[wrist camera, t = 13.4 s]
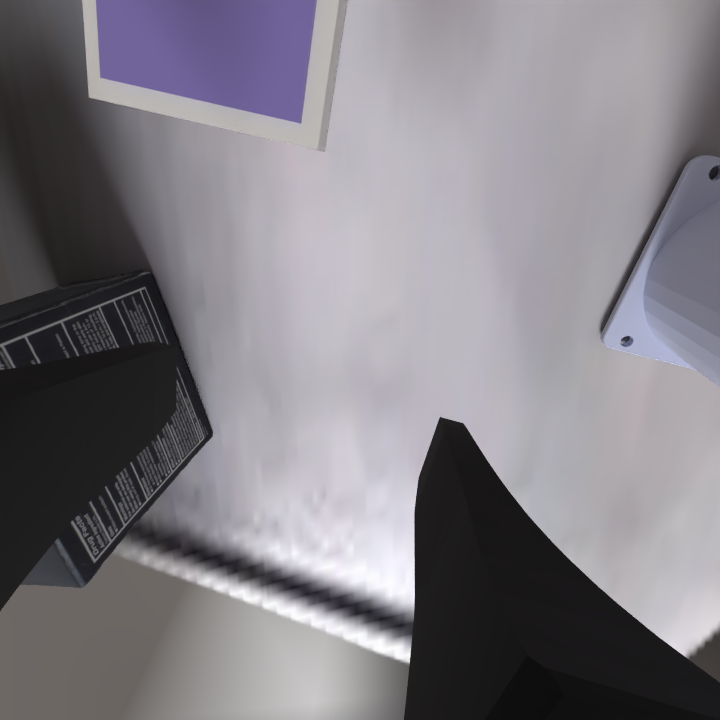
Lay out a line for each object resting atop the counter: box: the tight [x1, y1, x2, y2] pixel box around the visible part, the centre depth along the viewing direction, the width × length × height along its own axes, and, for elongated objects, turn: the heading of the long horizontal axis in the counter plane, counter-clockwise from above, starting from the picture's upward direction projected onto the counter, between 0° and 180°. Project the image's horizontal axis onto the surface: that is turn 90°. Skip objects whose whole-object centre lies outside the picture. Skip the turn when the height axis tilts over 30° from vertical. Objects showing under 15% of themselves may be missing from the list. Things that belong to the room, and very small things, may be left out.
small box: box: [0, 270, 213, 588], centre depth 19 cm, size 11×6×10 cm, turn 11°
